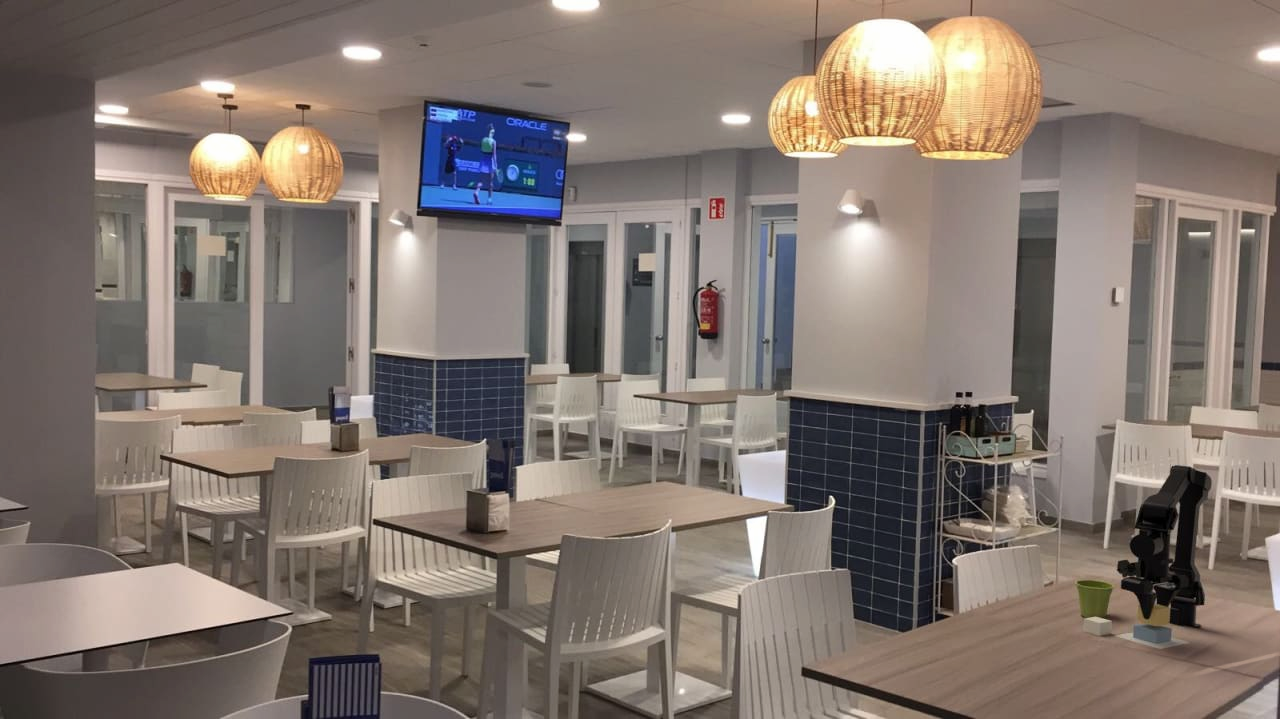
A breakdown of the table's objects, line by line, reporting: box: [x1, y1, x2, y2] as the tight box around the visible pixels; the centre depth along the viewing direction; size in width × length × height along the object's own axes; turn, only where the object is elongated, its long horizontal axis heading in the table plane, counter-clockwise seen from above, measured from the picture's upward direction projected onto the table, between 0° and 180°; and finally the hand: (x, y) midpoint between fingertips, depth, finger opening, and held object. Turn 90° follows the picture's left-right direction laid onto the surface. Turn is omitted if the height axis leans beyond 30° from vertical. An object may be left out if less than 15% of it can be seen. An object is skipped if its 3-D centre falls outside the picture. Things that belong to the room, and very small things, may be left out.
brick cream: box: [1083, 617, 1113, 637], centre depth 278 cm, size 4×4×4 cm
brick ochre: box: [1137, 603, 1170, 626], centre depth 273 cm, size 5×5×4 cm
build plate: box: [1115, 631, 1191, 650], centre depth 274 cm, size 12×12×1 cm
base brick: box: [1132, 623, 1173, 644], centre depth 274 cm, size 6×6×3 cm
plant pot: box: [1075, 579, 1115, 619], centre depth 296 cm, size 9×9×9 cm
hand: (1153, 617), depth 274 cm, fingers open, 5 cm apart
